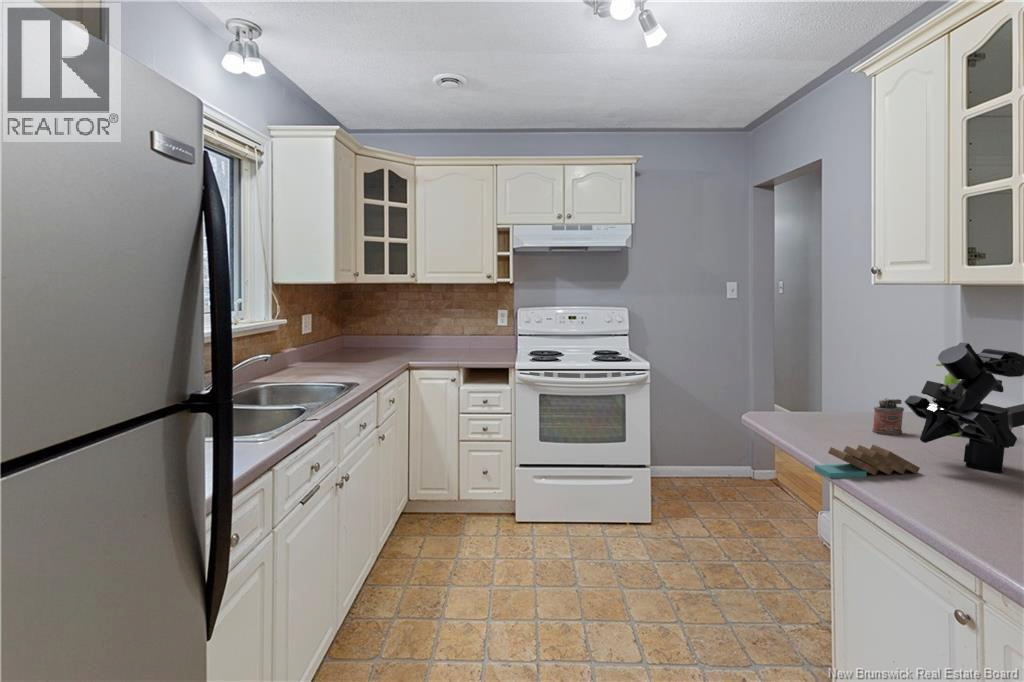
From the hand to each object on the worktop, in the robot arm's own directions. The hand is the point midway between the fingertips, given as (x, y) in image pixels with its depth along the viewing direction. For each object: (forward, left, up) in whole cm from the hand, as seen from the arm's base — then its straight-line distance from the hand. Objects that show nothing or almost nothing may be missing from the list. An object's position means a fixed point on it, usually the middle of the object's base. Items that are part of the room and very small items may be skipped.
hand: (922, 441), depth 124 cm
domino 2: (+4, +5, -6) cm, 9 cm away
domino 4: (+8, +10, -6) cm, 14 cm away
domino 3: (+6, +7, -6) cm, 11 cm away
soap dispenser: (-1, -43, -7) cm, 43 cm away
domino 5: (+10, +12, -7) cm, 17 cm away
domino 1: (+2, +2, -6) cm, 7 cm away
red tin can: (+11, -31, -7) cm, 34 cm away
